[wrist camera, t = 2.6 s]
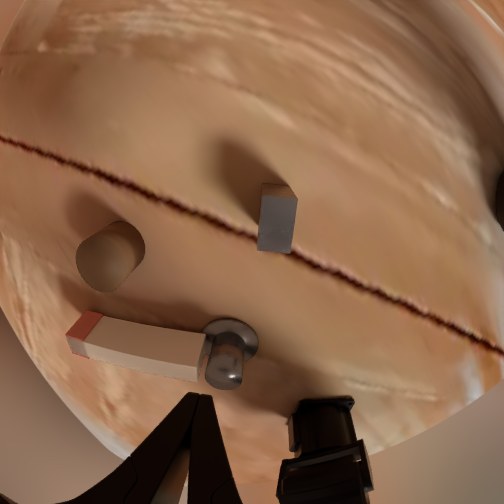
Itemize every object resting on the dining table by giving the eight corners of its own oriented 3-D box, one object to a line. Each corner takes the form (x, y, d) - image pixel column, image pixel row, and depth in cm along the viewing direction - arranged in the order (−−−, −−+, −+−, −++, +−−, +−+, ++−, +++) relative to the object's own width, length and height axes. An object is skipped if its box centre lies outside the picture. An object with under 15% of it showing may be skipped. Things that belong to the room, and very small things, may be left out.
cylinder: (143, 222, 19) (119, 241, 15) (146, 270, 21) (126, 296, 17) (100, 219, 19) (72, 236, 15) (105, 265, 21) (81, 287, 17)
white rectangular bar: (205, 332, 22) (196, 365, 18) (205, 350, 23) (197, 383, 19) (86, 310, 22) (65, 334, 18) (91, 328, 23) (72, 353, 19)
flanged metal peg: (261, 321, 22) (260, 359, 18) (255, 363, 24) (253, 400, 20) (200, 314, 22) (188, 351, 18) (201, 357, 24) (192, 393, 20)
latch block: (289, 186, 18) (297, 198, 14) (284, 228, 19) (290, 253, 15) (262, 183, 18) (262, 195, 14) (258, 226, 19) (257, 250, 15)
